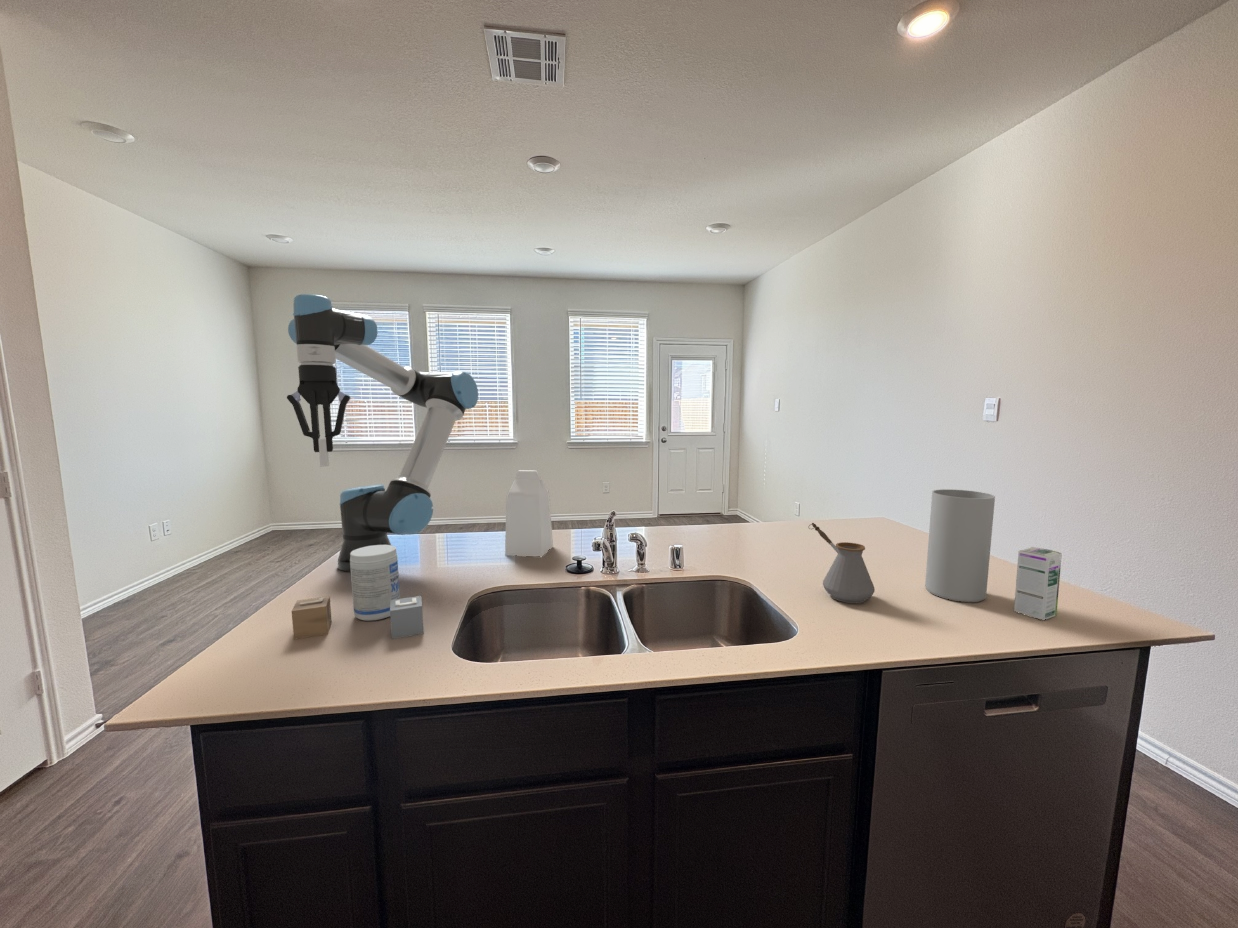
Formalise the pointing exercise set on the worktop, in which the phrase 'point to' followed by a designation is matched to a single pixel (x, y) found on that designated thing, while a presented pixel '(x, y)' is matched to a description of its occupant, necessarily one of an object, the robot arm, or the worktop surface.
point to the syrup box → (1037, 582)
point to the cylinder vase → (959, 544)
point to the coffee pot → (847, 573)
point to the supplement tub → (374, 581)
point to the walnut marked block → (311, 617)
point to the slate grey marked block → (406, 617)
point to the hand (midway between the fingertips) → (324, 465)
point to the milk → (528, 516)
